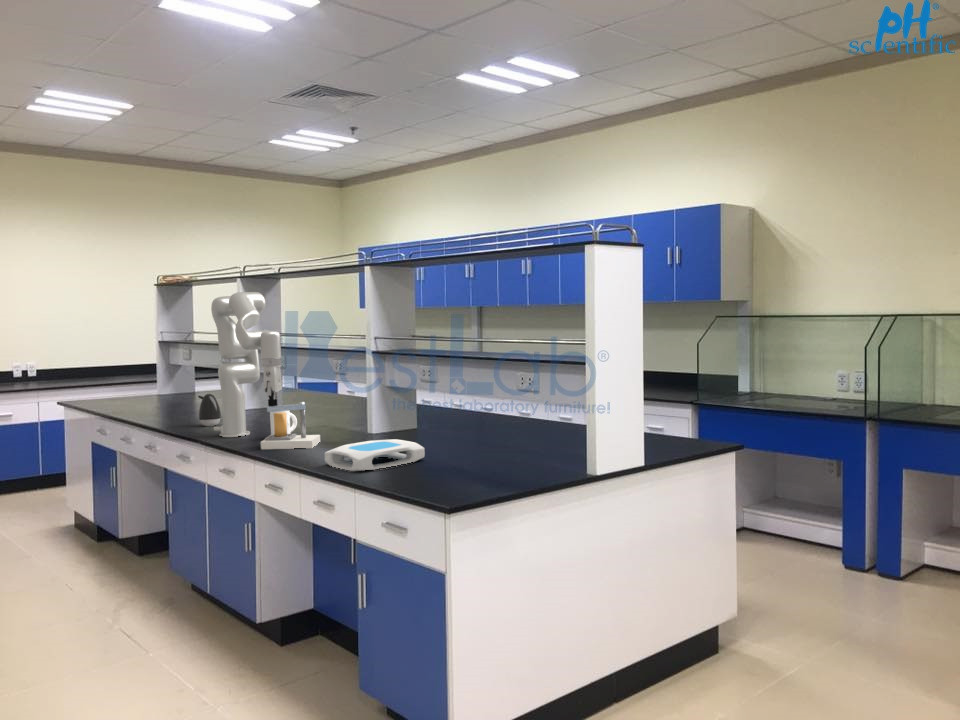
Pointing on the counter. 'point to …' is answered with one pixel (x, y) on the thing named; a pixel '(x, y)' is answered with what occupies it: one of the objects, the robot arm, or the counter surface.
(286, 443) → the socket block
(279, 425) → the plug
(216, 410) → the pump dispenser
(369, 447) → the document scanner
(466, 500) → the counter surface
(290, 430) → the mug
